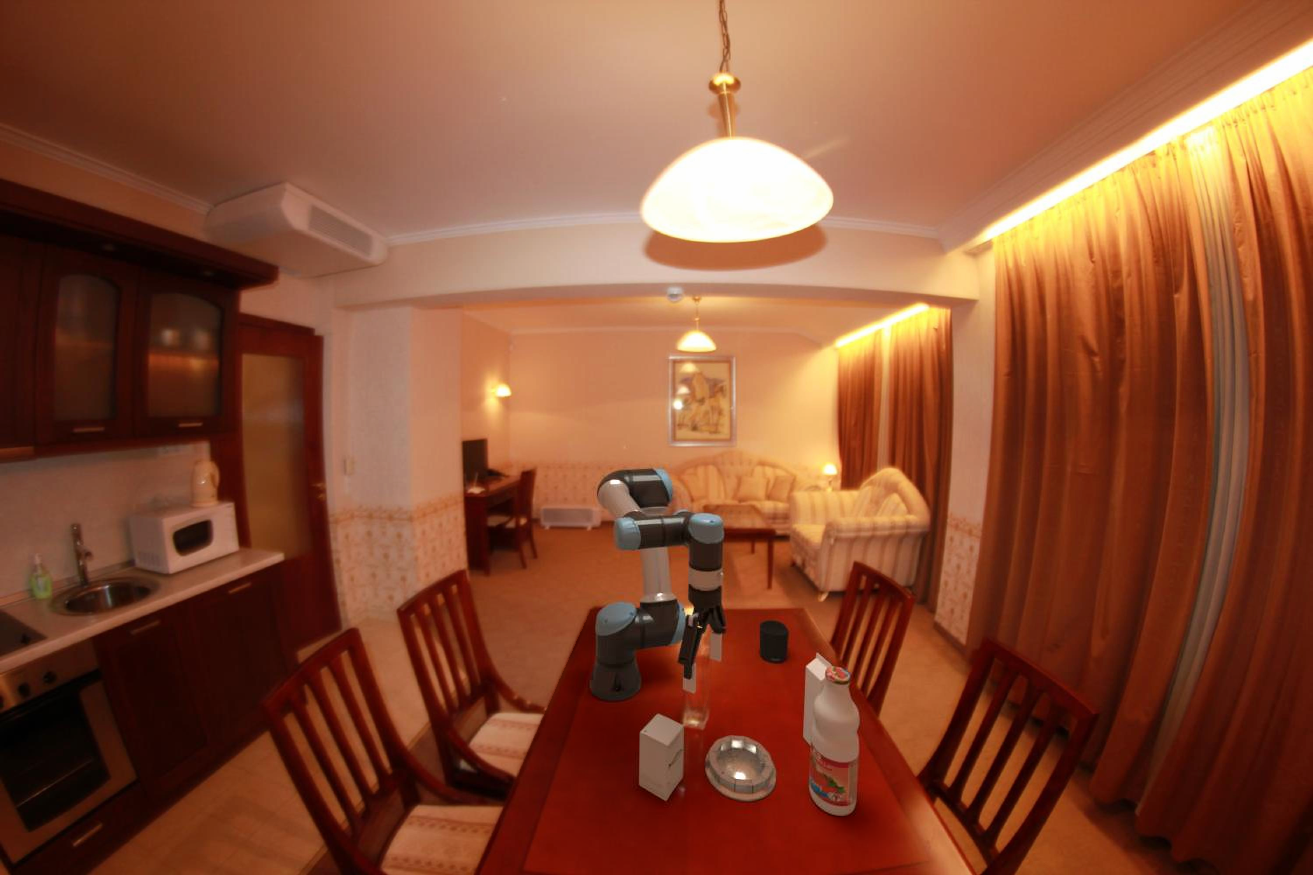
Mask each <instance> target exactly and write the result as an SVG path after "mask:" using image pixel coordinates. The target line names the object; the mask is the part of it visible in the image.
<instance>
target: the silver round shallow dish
mask: <svg viewBox="0 0 1313 875" xmlns="http://www.w3.org/2000/svg"><path fill="white" fill-rule="evenodd" d="M704 761H705V762H704V771H705V775H706V777H707V780H708V782H709V783H710V784H711V786H712V787H713V788H714V789H715V790H716V791H717V792H718V793H720V794H722V795H723V796H724V797H727V798H729V799H731V800H734V801H737V802H747V803H748V802H749V803H750V802H751V803H752V802H756V801H760V800H762V799H764V798H767V796H769V795H770V794H771V793H772V791H773V790H774V788H775V786H776V782H777V770H776V767H775V766H776V765H775V764H774V762H773V760H772V756H771V755H770V752H769V751H768V750H766V749H765V747H764V746H763V745H762V744H761V743H759V742H758V741H756V740H754V739H752V738H750V737H747V736H744V735H732V734H731V735H726V736H723V737H721V738H719V739H717V740H715V741H714V743H713V744H712V746H711V747H710V748H709V751H708V752H707V754H706V757H705V759H704Z"/></svg>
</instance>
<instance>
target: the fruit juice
mask: <svg viewBox="0 0 1313 875" xmlns="http://www.w3.org/2000/svg"><path fill="white" fill-rule="evenodd" d="M825 679H826V683H825V686H824V688H823V690H822V692H821V693H820V694H819V695H818V696H817V697H816V699H815V701H814V704H813V714H814V718H815V721H814V723H813V725H812V732H811V746H810V756H809V779H808V780H809V782H808V783H809V784H808V788H809V793H810V796H811V798H812V801H813V802H814V803H815V804H816V805H817V806H818V807H819V808H820V809H821V810H822V811H824V812H826V813H828V814H830V815H834V816H840V817H844V816H848V815H849V814H852V812H853V811H854V810H855V808H856V804H857V796H858V794H857V792H858V776H859V775H858V773H859V772H858V771H859V754H860V742H859V741H860V740H859V735H858V732H857V731H858V729H859V726H860V712H859V709H858V707H857V705H856V704H855V702H854V701H853V699H852V697H851V693H850V688H849V686H850V684H851V674H850V673H849V671H848V670H846V669H844V668H842V667H840V666H834V665H832V667H828V668H827V669H826V671H825Z"/></svg>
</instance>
